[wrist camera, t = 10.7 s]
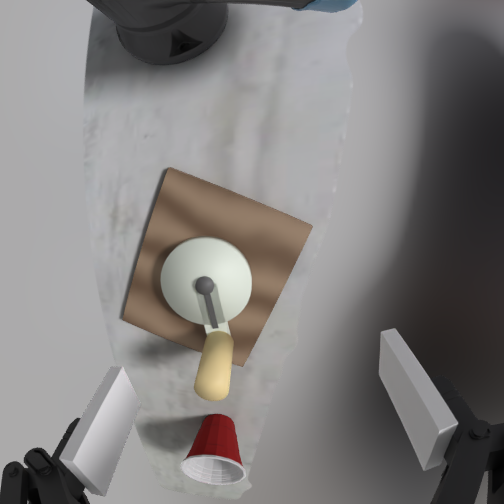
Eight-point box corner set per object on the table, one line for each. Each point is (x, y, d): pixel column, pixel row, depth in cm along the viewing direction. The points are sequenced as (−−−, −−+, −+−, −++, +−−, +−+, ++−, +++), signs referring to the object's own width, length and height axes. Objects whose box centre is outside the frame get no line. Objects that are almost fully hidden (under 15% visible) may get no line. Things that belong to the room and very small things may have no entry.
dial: (155, 243, 41) (120, 276, 30) (243, 228, 40) (238, 258, 29) (185, 350, 46) (168, 403, 34) (263, 341, 45) (265, 396, 34)
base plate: (170, 167, 39) (167, 167, 38) (311, 224, 41) (313, 226, 40) (124, 316, 46) (121, 320, 45) (243, 363, 48) (242, 367, 47)
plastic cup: (188, 435, 54) (179, 482, 42) (191, 400, 51) (179, 451, 39) (242, 444, 54) (240, 491, 43) (252, 409, 51) (251, 461, 40)
